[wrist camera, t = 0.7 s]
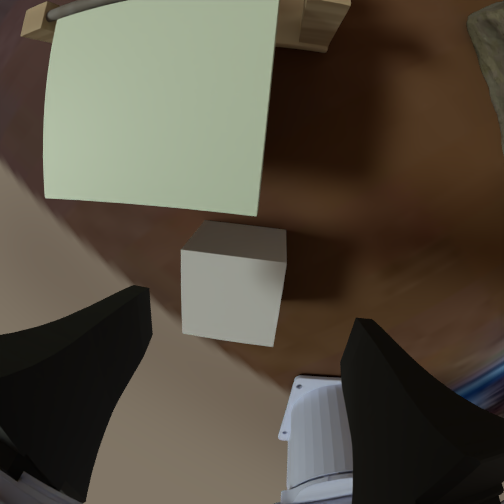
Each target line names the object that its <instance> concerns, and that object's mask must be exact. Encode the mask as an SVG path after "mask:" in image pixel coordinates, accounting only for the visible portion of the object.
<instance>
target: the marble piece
mask: <svg viewBox="0 0 504 504" xmlns="http://www.w3.org/2000/svg"><path fill="white" fill-rule="evenodd" d="M467 30H468V32H469V35H470V37H471V39H472V42H473V45H474V48H475V50H476V53H477V56H478V60H479V65H480V68H481V71H482V74H483V76H484V78H485V80H486V82H487V84H488V86H489V90H490V96H491V101H492V103H493V106H494V108H495V111H496V113H497V116H498V121H499V125H500V130H501V136H502V149H503V154H504V1H502V2H497V3H495V4H491V5H490V6H487V7H485V8H483V9H481V10H479V11H477V12H474V13H472V14H471V15H469V16H468V21H467Z"/></svg>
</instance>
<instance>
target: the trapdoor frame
mask: <svg viewBox="0 0 504 504" xmlns="http://www.w3.org/2000/svg"><path fill="white" fill-rule="evenodd" d="M123 1H128V0H77V1H74V2H71V3H68V4H65V5H63V6H59V5H57V4H54V3H51V2H49V1H47V2H44V3H42V4H40V5H37V6H35V7H33V8H31V9H29V10H27V11H26V15H25V19H24V23H23V28H22V32H21V37H26V38H31V39H36V40H41V41H45V42H49V43H53V37H54V32H55V27H56V23H57V20H58V19H61V18H64V17H67V16H70V15H73V14H76V13H79V12H83V11H86V10H90V9H93V8H97V7H101V6H105V5H109V4H113V3H118V2H123ZM350 6H351V0H280V4H279V14H278V24H277V34H276V44H275V47H285V48H294V49H302V50H309V51H316V52H322V53H326V52H327V50H328V46H329V44H330V42H331V40H332V38H333V36H334V35H335V33H336V31H337V29H338V27H339V26H340V24H341V22H342V20H343V19H344V17H345V15H346V13H347V11H348V10H349V8H350Z"/></svg>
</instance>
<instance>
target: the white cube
mask: <svg viewBox="0 0 504 504" xmlns="http://www.w3.org/2000/svg"><path fill="white" fill-rule="evenodd" d="M286 265H287V248H286V230H284V229H276V228H267V227H259V226H251V225H242V224H234V223H225V222H216V221H207V220H205V221H204V222H203V224H202V225H201V226H200V227H199V228H198V230H197V231H196V232H195V233H194V234H193V236H192V237H191V238H190V239H189V240H188V242H187V243H186V244H185V245H184V247H183V248H182V249H181V302H182V333H184V334H189V335H195V336H201V337H207V338H213V339H220V340H226V341H233V342H240V343H247V344H255V345H263V346H271V347H273V343H274V338H275V332H276V326H277V320H278V315H279V309H280V303H281V297H282V290H283V284H284V278H285V272H286Z"/></svg>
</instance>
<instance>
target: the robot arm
mask: <svg viewBox="0 0 504 504" xmlns="http://www.w3.org/2000/svg"><path fill="white" fill-rule="evenodd" d="M152 334H153V333H152V321H151V308H150V292H149V288H146V287H141V286H136V285H133V286H130V287H128V288H126V289H124V290H121V291H119V292H117V293H115V294H113V295H111V296H109V297H107V298H105V299H103V300H101V301H99V302H97V303H95V304H93V305H91V306H89V307H87V308H84V309H82V310H80V311H77V312H75V313H73V314H71V315H69V316H66V317H64V318H61V319H59V320H56V321H53V322H50V323H47V324H44V325H41V326H38V327H34V328H30V329H26V330H22V331H18V332H14V333H9V334H3V335H0V504H83V503H84V502H86V497H87V492H88V487H89V483H90V478H91V474H92V470H93V467H94V463H95V460H96V456H97V453H98V449H99V447H100V444H101V441H102V438H103V435H104V432H105V430H106V427H107V425H108V422H109V420H110V417H111V415H112V412H113V410H114V408H115V406H116V404H117V402H118V400H119V398H120V396H121V395H122V393H123V391H124V389H125V388H126V386H127V384H128V383H129V381H130V379H131V377H132V376H133V374H134V372H135V371H136V369H137V367H138V365H139V364H140V362H141V360H142V358H143V357H144V354H145V352H146V349H147V347H148V345H149V342H150V340H151V337H152ZM340 365H341V378H333V377H317V376H304V375H299V376H297V377H295V379H294V383H293V386H292V390H291V393H290V397H289V401H288V404H287V408H286V411H285V414H284V418H283V421H282V424H281V428H280V431H279V434H278V438H279V439H280V440H286V441H288V460H287V461H288V462H287V490H284V491H281V502H278V503H274V504H504V500H503V501H502V502H500V499H499V496H498V495H500V494H502V493H503V491H504V489H503V486H502V482H503V481H504V418H501V417H499V416H497V415H495V414H492V413H490V412H488V411H486V410H484V409H482V408H480V407H478V406H476V405H475V404H473V403H471V402H469V401H468V400H466V399H464V398H463V397H461V396H460V395H458V394H456V393H455V392H453V391H452V390H450V389H449V388H448V387H446V386H445V385H444V384H442V383H441V382H440V381H438V380H437V379H436V378H434V377H433V376H432V375H431V374H429V373H428V372H427V371H426V370H425V369H424V368H423V367H421V366H420V365H419V364H418V363H417V362H416V361H415V360H414V359H413V358H412V357H410V356H409V355H408V354H407V353H406V352H405V351H404V350H403V349H402V348H401V347H400V346H399V345H398V344H397V343H396V342H395V341H394V340H393V339H392V338H391V337H390V336H389V335H388V334H387V333H386V332H385V331H384V330H383V329H382V328H381V327H380V326H379V325H378V324H377V323H376V322H375V321H374V320H372V319H364V318H356V319H355V322H354V325H353V328H352V331H351V334H350V337H349V339H348V342H347V345H346V348H345V351H344V353H343V356H342V359H341V362H340Z"/></svg>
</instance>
